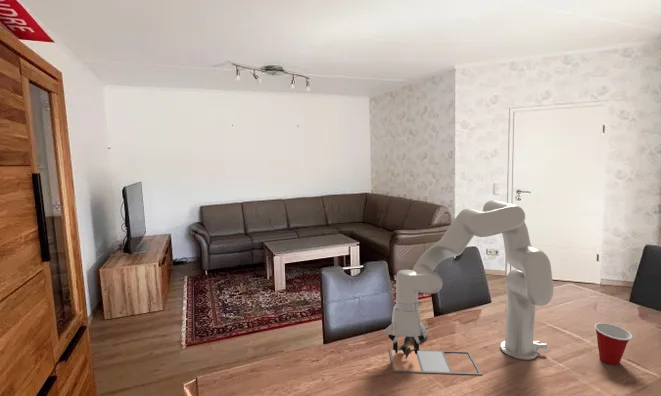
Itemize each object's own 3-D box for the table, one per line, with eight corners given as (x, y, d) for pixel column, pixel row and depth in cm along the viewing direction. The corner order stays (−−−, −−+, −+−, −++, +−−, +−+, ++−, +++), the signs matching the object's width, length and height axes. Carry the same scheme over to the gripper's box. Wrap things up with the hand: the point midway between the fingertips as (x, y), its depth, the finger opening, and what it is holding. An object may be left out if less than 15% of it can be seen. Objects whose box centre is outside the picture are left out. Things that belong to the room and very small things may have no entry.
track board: (469, 352, 139) (469, 351, 139) (482, 375, 125) (482, 374, 125) (389, 349, 141) (389, 349, 141) (392, 372, 127) (392, 371, 127)
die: (421, 333, 154) (422, 322, 153) (427, 339, 149) (427, 327, 148) (410, 334, 153) (410, 323, 152) (415, 340, 148) (416, 328, 147)
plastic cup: (619, 373, 125) (622, 340, 124) (585, 357, 135) (588, 326, 133) (635, 364, 130) (638, 332, 129) (601, 350, 140) (604, 320, 138)
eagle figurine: (422, 356, 131) (415, 339, 139) (411, 342, 129) (406, 326, 137) (403, 366, 132) (398, 349, 140) (393, 352, 130) (388, 336, 139)
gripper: (429, 301, 134) (427, 347, 136) (381, 300, 135) (381, 345, 137) (433, 309, 127) (432, 358, 129) (383, 308, 128) (382, 356, 130)
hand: (405, 351), depth 133 cm, fingers closed on eagle figurine, 6 cm apart
